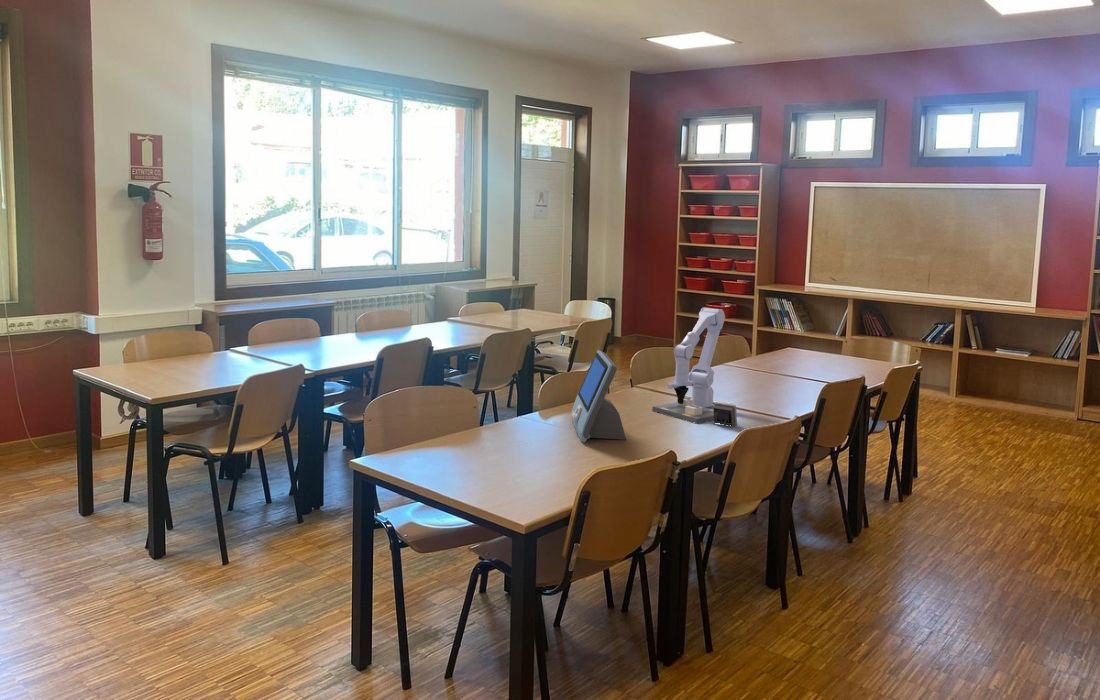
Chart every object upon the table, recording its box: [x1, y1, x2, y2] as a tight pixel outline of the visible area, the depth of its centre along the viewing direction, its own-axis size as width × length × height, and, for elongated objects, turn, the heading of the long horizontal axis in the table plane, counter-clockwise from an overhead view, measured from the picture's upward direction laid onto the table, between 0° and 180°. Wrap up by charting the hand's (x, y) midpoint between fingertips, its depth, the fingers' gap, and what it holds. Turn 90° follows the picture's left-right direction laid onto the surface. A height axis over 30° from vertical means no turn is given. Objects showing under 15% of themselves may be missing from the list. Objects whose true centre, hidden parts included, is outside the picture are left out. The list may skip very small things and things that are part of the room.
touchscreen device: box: [571, 349, 627, 444], centre depth 333 cm, size 35×20×30 cm, turn 5°
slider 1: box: [676, 396, 694, 407], centre depth 375 cm, size 5×5×4 cm
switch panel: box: [652, 402, 714, 424], centre depth 368 cm, size 18×26×2 cm
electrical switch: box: [712, 401, 738, 427], centre depth 350 cm, size 9×5×9 cm, turn 57°
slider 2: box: [685, 404, 702, 416], centre depth 360 cm, size 5×5×4 cm
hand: (680, 403), depth 373 cm, fingers closed
